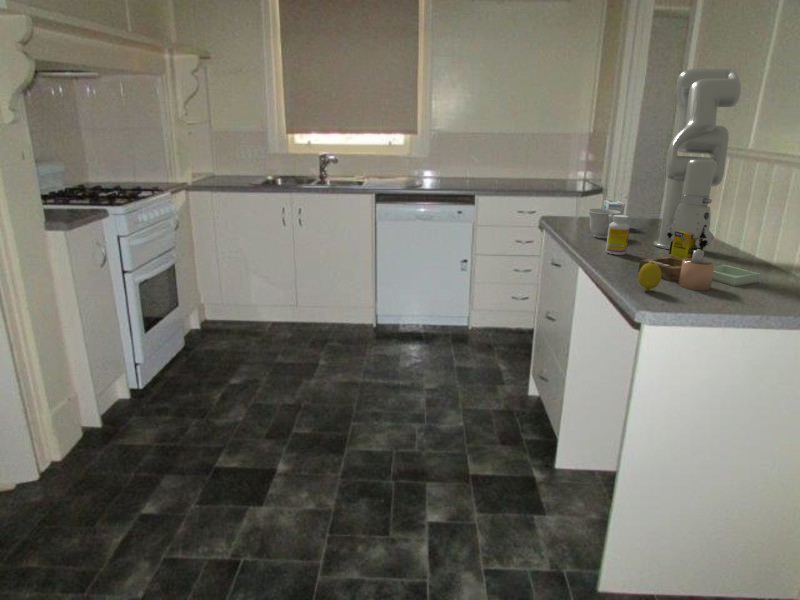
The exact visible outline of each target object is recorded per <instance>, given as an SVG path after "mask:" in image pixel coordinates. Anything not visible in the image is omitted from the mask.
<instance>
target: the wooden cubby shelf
mask: <svg viewBox="0 0 800 600" xmlns="http://www.w3.org/2000/svg"><path fill="white" fill-rule="evenodd" d="M682 261H683V259H682V258H678V257H674V256H671V255H670V256H662V257H655V258H647V259H641V260H640V261H639V266H638V273H639V272H640V269H641V268H642V266H643V265H645V264H647V263H650V262H654V263H655V264H657V265H658V266H659V267H660V270H661V279H662V278H663V279H662V280H665V279H666V281H669V282H670V281H676V280H678V281H679V277H680V272H681V266H682Z"/></svg>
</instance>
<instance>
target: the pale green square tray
mask: <svg viewBox="0 0 800 600" xmlns="http://www.w3.org/2000/svg"><path fill="white" fill-rule="evenodd" d="M760 277H761V273H759V272H754V271H750V270H749V269H743V268H739V267H735V266H731V265H727V264H721V265H720V264H719V265H715V267H714V272H713V277H712V281H713V282H716V283H720V284H725V285H728V286H732V287H737V286H744V285H748V284H749V285H750V284H754V283H755V284H756V283H759V282H760Z"/></svg>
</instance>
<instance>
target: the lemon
mask: <svg viewBox="0 0 800 600" xmlns="http://www.w3.org/2000/svg"><path fill="white" fill-rule="evenodd" d="M637 278H638V280H637V281H638V282H639V283H638V284H639V285H640V286H641V287H642V288H643V289H644V290H645V291H650V290H652V289H655V288H657V287H658V285H659V284H660V283H661V280H662V278H661V270H660V267H659V266H658V265H657V264H655V263H654V262H650V263H647V264H645V265H643V266H642V268H641V269H640V272H639V271H638V277H637Z"/></svg>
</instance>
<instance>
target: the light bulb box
mask: <svg viewBox="0 0 800 600" xmlns="http://www.w3.org/2000/svg"><path fill="white" fill-rule="evenodd" d="M602 205H603V206H602V209H610V210H616V211H620V212H621V214H619V215H624V213H625V206H626V204H625V203H624V202H622V201H621V200H610V199H609V200H608V199H607V200H604V199H603V204H602Z"/></svg>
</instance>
